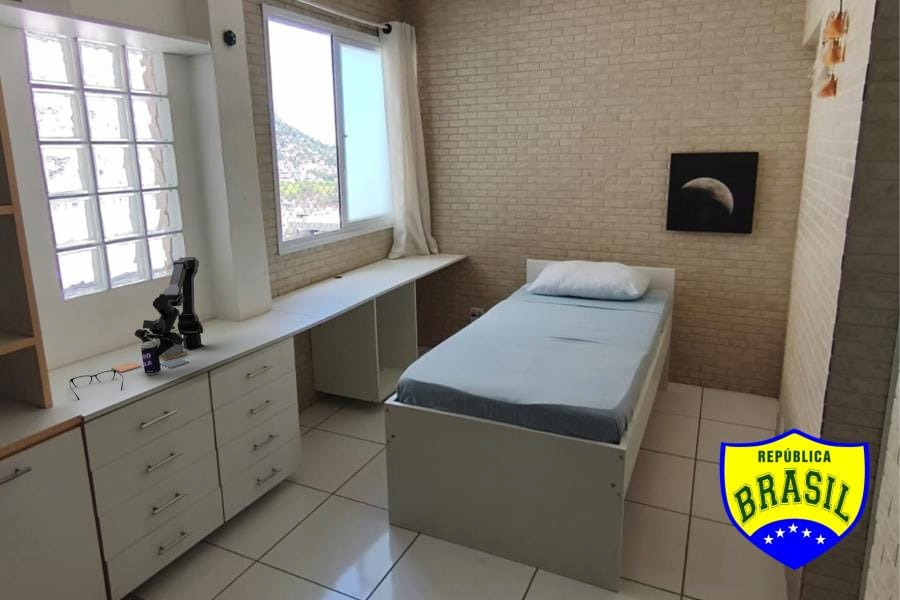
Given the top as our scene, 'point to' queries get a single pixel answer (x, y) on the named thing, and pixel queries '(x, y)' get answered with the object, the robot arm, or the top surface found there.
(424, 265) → the top surface
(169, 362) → the slate pad
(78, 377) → the eyeglasses
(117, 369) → the terracotta pad
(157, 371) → the beverage can
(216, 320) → the top surface
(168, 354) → the grey unit
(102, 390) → the top surface
